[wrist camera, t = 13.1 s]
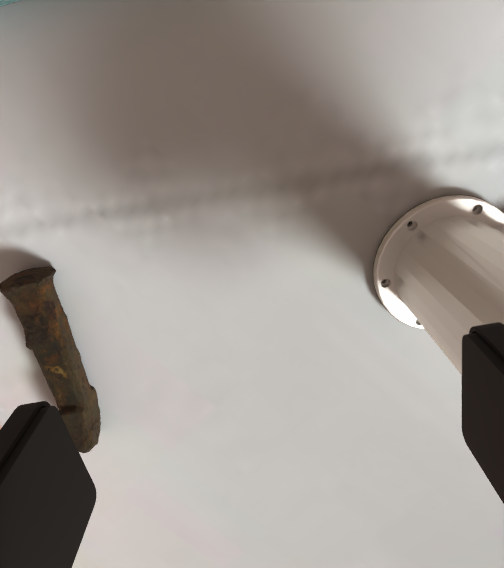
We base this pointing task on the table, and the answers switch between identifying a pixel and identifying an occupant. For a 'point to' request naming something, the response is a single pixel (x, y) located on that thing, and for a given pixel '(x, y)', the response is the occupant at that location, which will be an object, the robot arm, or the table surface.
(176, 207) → the table surface
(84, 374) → the hand tool
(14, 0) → the square hole plate
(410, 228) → the robot arm
